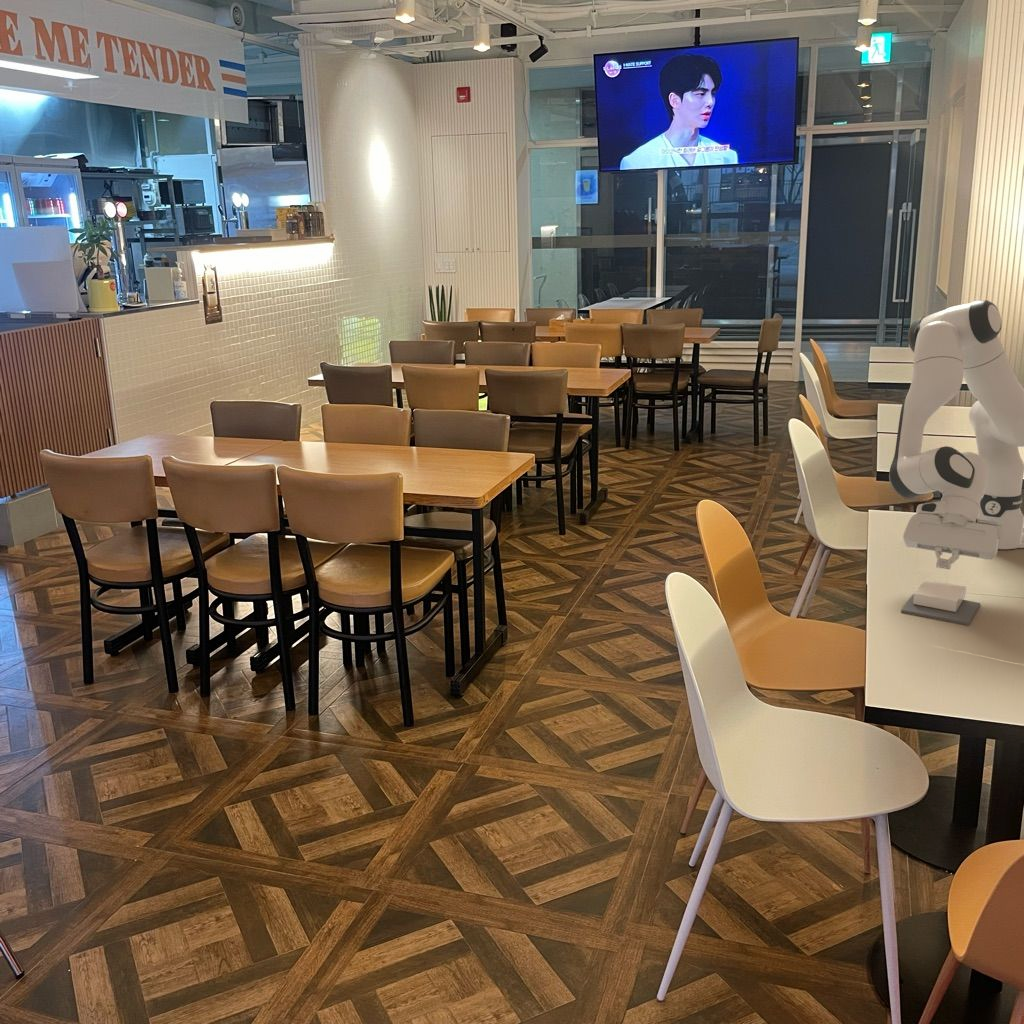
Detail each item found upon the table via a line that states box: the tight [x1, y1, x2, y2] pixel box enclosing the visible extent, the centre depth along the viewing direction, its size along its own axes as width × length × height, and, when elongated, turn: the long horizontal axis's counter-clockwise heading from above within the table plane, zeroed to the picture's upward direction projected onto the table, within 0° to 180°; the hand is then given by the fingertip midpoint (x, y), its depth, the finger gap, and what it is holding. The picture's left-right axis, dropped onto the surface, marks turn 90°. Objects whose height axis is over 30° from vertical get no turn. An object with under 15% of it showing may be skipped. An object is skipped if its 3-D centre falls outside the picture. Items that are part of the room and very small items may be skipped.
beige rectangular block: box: [913, 578, 967, 612], centre depth 225 cm, size 3×9×11 cm
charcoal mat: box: [900, 590, 981, 626], centre depth 223 cm, size 14×14×1 cm
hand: (942, 567), depth 227 cm, fingers closed
